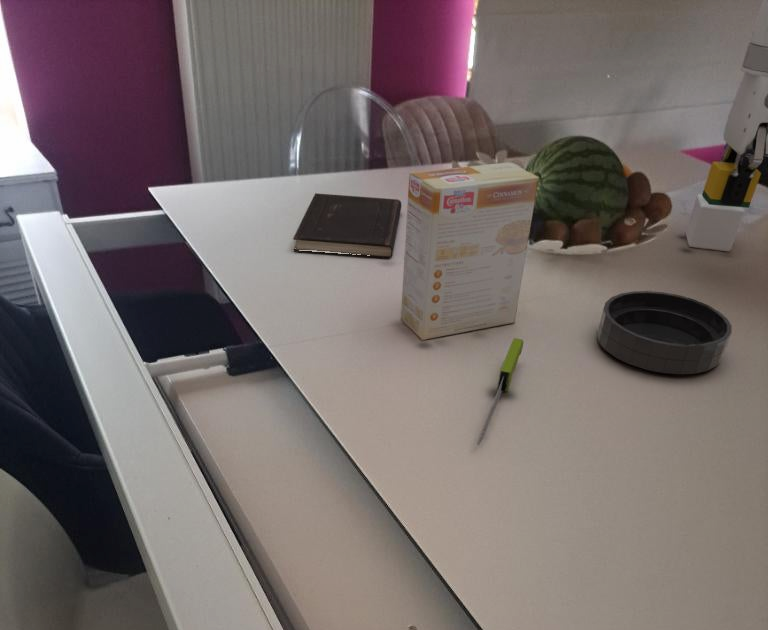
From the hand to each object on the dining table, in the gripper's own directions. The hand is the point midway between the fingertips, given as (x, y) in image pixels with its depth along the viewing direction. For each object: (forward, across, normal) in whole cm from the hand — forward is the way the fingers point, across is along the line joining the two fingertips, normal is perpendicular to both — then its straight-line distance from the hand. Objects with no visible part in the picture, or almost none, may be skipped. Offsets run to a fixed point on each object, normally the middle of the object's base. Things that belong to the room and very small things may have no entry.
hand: (726, 197), depth 113 cm
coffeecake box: (+12, -26, +40) cm, 49 cm away
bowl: (+12, -29, +13) cm, 34 cm away
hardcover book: (+13, +6, +58) cm, 60 cm away
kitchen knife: (+12, -47, +35) cm, 59 cm away
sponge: (+1, 0, 0) cm, 1 cm away
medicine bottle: (+12, +14, -4) cm, 19 cm away
